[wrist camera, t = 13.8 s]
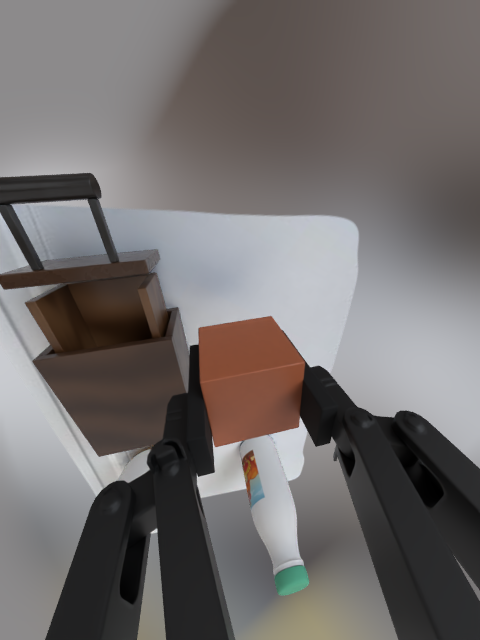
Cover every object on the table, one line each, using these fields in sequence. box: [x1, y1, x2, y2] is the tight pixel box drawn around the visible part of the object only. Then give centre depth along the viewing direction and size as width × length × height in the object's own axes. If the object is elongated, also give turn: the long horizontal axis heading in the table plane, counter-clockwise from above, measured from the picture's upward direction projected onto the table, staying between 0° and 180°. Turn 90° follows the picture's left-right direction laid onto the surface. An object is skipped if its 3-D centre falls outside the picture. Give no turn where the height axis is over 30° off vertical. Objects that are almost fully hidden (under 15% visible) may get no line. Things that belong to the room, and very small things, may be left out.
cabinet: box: [33, 308, 190, 457], centre depth 27 cm, size 16×13×8 cm
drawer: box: [0, 173, 169, 353], centre depth 21 cm, size 21×11×6 cm, turn 4°
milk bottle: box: [240, 435, 309, 595], centre depth 36 cm, size 8×8×20 cm
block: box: [199, 316, 305, 447], centre depth 13 cm, size 5×5×5 cm
